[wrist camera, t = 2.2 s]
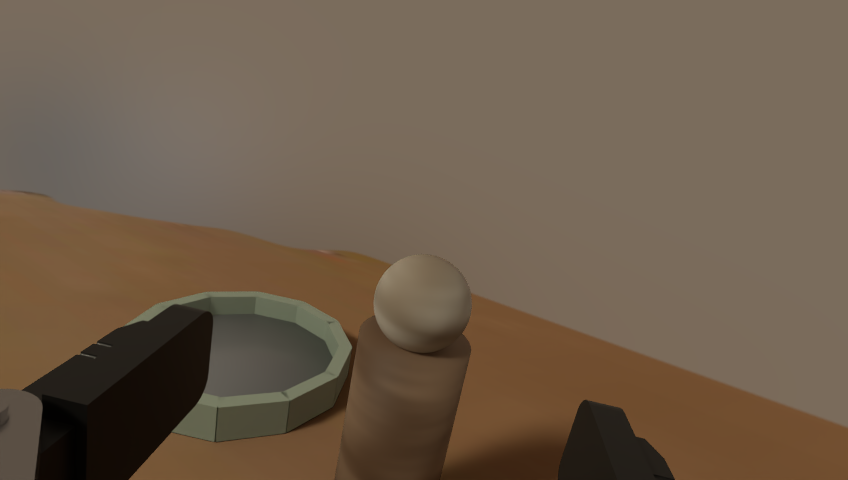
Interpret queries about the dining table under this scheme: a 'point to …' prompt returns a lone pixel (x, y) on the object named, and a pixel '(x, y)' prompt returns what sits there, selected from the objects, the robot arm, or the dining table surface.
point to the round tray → (263, 365)
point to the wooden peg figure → (407, 374)
